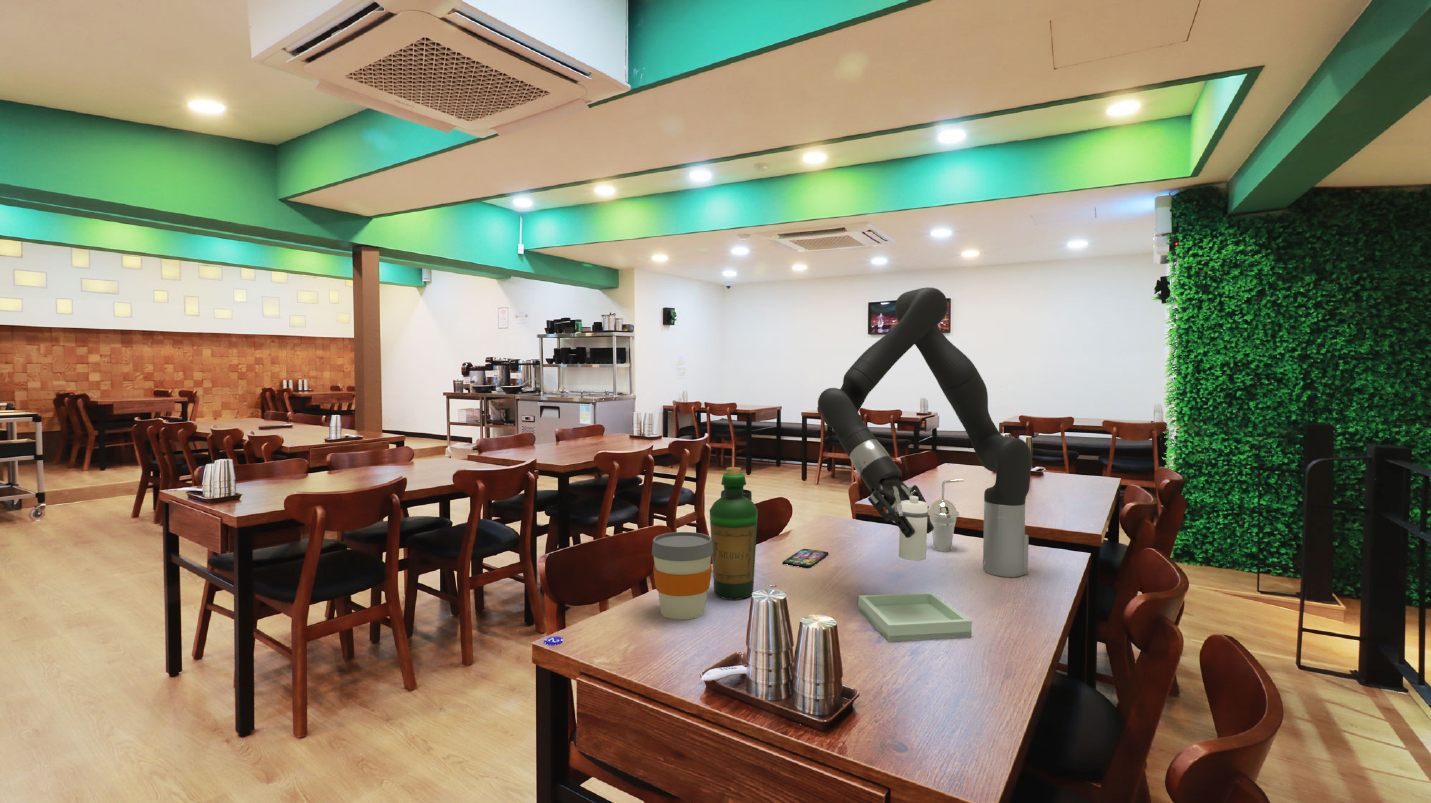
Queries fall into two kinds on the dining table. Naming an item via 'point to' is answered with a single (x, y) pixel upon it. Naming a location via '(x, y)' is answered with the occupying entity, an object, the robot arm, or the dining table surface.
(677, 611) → the reusable coffee cup
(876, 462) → the robot arm
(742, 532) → the bottle
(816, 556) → the smartphone
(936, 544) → the cup with straw
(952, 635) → the pale green rectangular tray
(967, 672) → the dining table surface
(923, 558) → the white capped canister
